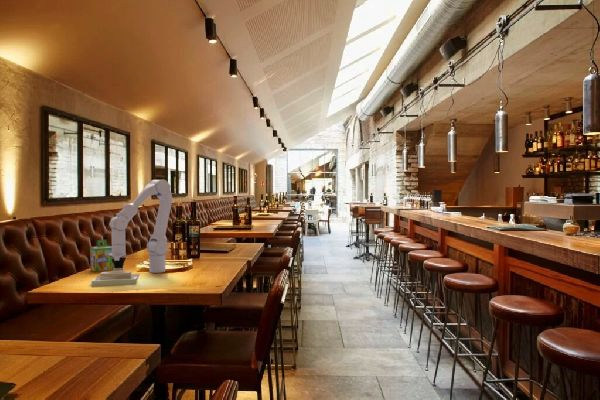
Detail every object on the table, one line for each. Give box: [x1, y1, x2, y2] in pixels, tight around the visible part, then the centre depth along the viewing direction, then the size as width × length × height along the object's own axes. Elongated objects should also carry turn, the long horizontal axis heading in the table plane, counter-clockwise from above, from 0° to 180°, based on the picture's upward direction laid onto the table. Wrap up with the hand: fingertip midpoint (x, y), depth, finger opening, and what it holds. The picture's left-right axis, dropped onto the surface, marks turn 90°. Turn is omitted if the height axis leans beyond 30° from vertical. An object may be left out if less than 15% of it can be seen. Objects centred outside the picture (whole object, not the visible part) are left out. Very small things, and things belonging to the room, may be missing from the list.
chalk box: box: [89, 239, 115, 272], centre depth 229 cm, size 9×9×15 cm
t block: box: [99, 267, 132, 280], centre depth 202 cm, size 12×12×4 cm
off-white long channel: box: [91, 277, 138, 287], centre depth 195 cm, size 5×17×2 cm, turn 105°
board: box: [89, 273, 141, 287], centre depth 203 cm, size 22×18×1 cm
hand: (119, 274), depth 210 cm, fingers closed
